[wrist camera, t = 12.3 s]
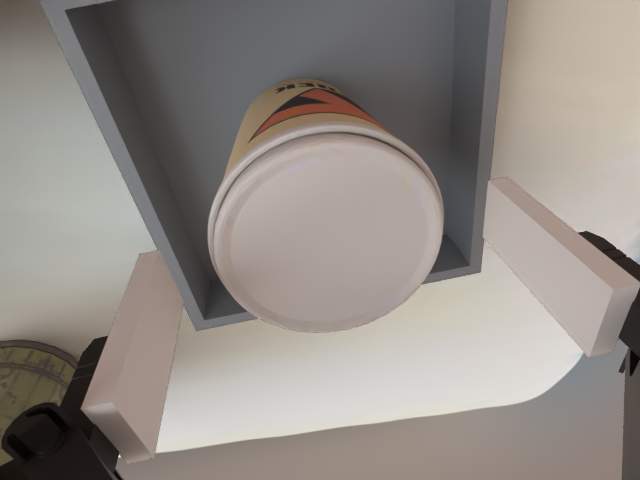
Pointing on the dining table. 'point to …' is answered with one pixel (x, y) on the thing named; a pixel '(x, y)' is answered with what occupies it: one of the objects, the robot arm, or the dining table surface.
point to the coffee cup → (322, 212)
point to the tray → (265, 71)
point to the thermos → (30, 379)
